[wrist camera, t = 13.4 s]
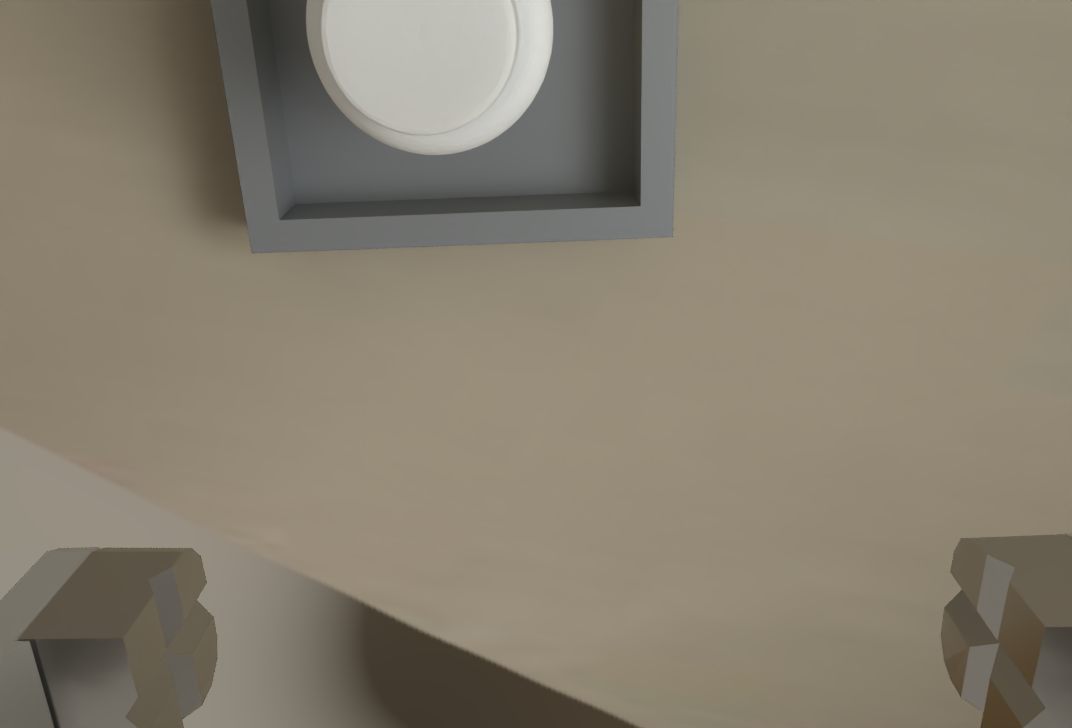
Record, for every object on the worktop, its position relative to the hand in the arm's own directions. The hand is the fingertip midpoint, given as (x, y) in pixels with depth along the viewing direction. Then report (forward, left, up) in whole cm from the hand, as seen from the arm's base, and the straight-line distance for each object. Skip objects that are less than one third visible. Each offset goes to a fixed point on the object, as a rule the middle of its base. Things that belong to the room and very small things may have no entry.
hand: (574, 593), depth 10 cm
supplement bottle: (+3, -5, -21) cm, 22 cm away
